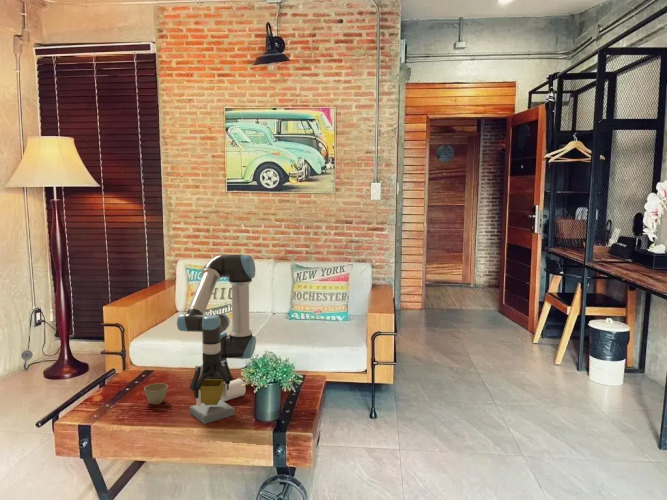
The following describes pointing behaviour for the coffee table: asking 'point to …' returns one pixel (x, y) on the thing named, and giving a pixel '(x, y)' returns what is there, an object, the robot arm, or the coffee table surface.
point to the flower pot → (211, 391)
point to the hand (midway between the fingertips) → (212, 401)
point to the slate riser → (212, 411)
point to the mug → (234, 390)
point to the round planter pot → (156, 392)
